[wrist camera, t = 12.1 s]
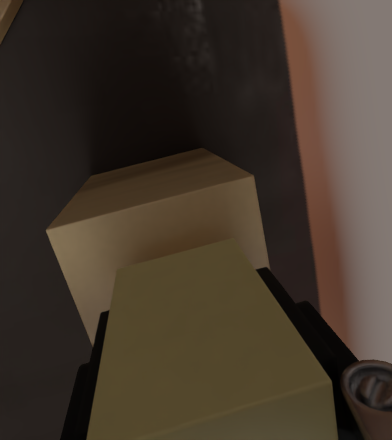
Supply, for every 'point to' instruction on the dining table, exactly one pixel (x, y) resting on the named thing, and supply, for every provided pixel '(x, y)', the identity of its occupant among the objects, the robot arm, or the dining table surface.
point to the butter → (205, 356)
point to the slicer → (7, 14)
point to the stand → (152, 221)
